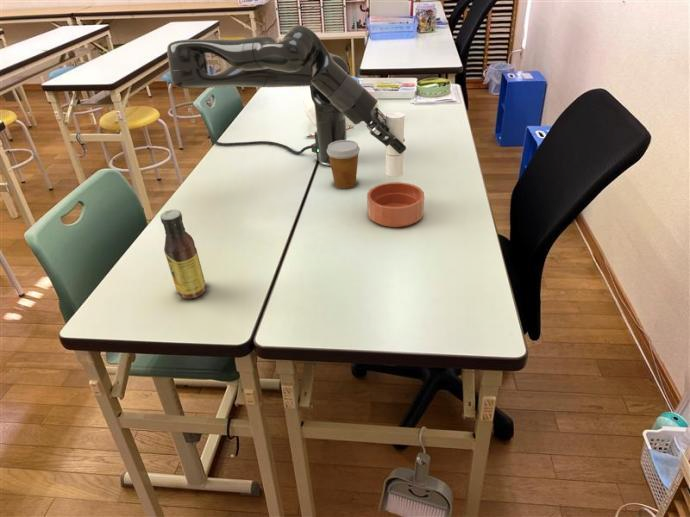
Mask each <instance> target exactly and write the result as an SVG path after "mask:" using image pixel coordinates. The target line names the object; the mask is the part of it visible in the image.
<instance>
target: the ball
mask: <svg viewBox="0 0 690 517" xmlns="http://www.w3.org/2000/svg"><path fill="white" fill-rule="evenodd" d="M303 108H304V114H305V117H306V118H307V119H308V120H309V121H310V122H311V124H312V125H313V126H315V127H316V116H315V106H314V103H313V101H312V98H311V92H310V88H308V89H307V90H306V92H305V96H304V100H303ZM345 119H346V121H347V120H348V118H347V117H346V116H345ZM347 127H348V128H347ZM347 127H346V131H350V130H352V129H354V126H351V125H349V126H347ZM306 137H307V138H315V134H313V135H312V134H311V133H308V135H306Z"/></svg>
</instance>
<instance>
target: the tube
mask: <svg viewBox="0 0 690 517" xmlns="http://www.w3.org/2000/svg"><path fill="white" fill-rule="evenodd" d="M385 117H386V124H387V125H388V126H389V127H390V131H391V132H392V133H393V134H394V135H395V137H396V138H397V139H399V140H400V141H401V142H402V143H403V144H404V143H405V141H404V140H405V113H402V112H399V111H390V112H388V113H386V114H385ZM385 138H386V139H388V138H389V137H388V136H386V137H385ZM404 145H405V144H404ZM403 174H404V152H403V153H401V154H399V153H398V152H397V151H396V150H395V149H394V148H393V147H392V146H390V145H388V146H386V145H385V175H386V177H389V178H399V177H402V176H403Z"/></svg>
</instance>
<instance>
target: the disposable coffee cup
mask: <svg viewBox="0 0 690 517" xmlns="http://www.w3.org/2000/svg"><path fill="white" fill-rule="evenodd" d="M360 151H361V148H360V146H359V144H358V142H356V141H354V140H351V139H349V140H348V139H347V140H339V141H335V142H332V143H330V144H329V145H328V149H327V153H328V155H329V159H330V164H331V166H330V169H331V174H332V178H333V182H334V186H335V187H336V188H338V189H351V188H353V187H355V186H356V185H357V175H358V174H357V173H358V164H359V154H360Z"/></svg>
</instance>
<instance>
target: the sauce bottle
mask: <svg viewBox="0 0 690 517" xmlns="http://www.w3.org/2000/svg"><path fill="white" fill-rule="evenodd" d="M159 216H160V222H161V224H162V225H163V228H164V233H165V237H164V238H165V240H164V246H163V247H164V248H163V252H164V254H165V258H166V261H167V264H168V267H169V271H170V275H171V277H172V280H173V284H174V287H175V290H176V292H177V294H178V295H179V297H181V298H182V299H187V300H190V299H195V298H198V297H200V296H202V295H203V294H204V292H205V291H206V281H205V276H204V273H203V272H204V271H203V269H202V265H201V261H200V257H199V253H198V251H197V247H196V244H195V240H194V238H193V236H192V235H190V234H189V233H188V232H187V231H186V228H185V225H184V222H183V215H182V211H181V210H179V209H176V208H175V209H174V208H173V209H167V210H165V211H163V212H162V213H161V214H160V215H159Z"/></svg>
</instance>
